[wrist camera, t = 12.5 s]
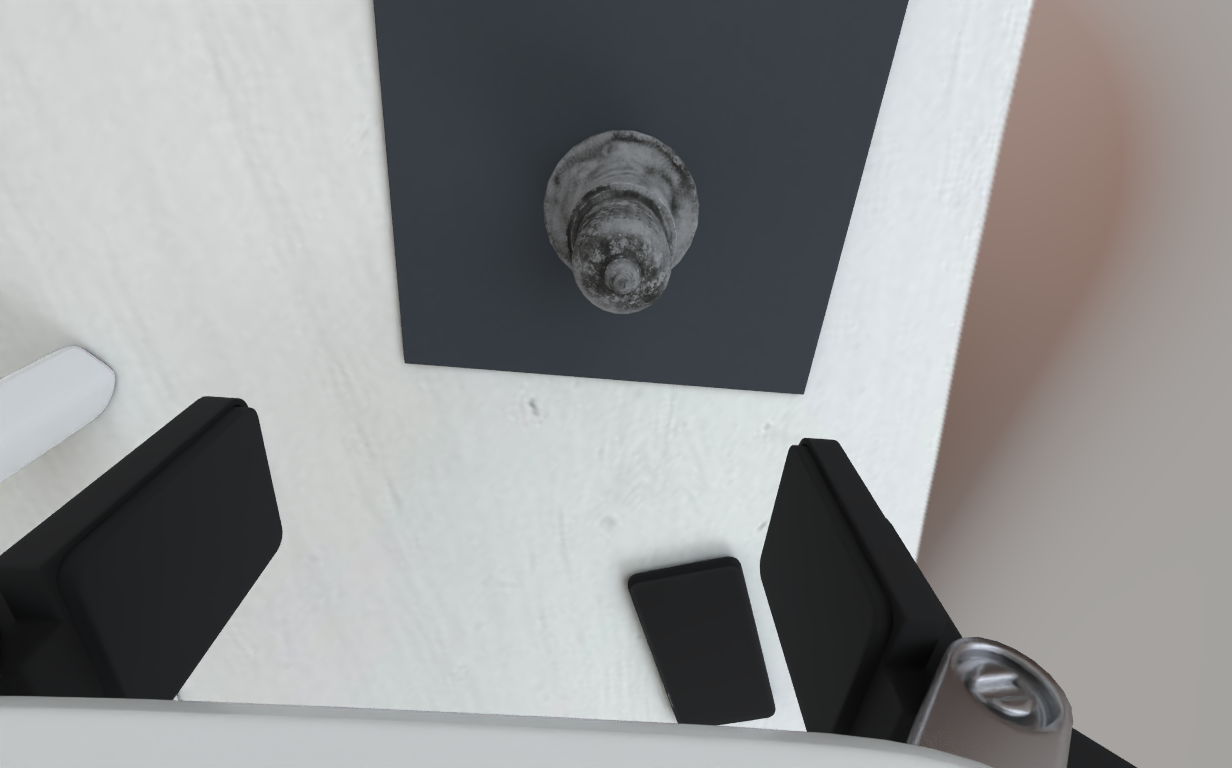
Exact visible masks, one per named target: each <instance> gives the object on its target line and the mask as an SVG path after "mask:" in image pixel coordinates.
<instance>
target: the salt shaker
mask: <svg viewBox="0 0 1232 768" xmlns="http://www.w3.org/2000/svg"><path fill="white" fill-rule="evenodd" d="M698 213H699V202H698V196H697V191H696V185H695V183H694V181H693V179H692V176H691V174H690V172H689V170H688V168H687V166H686V164H685V163H684V162H683V161H682V160H681V159H680V157H679V156H678V155H677V154H676V153H675V152H674V150H673V149H672V148H670V147H668V146H667V145H665V144H664V143H662V142H661V141H659V140H658V139H656V138H655V137H652V136H649V135H646V134H643V133H640V132H636V131H631V130H611V131H607V132H604V133H600V134H596V135H593V136H590V137H589V138H587V139H585V140H584V141H582V142H580V143H579V144H577V145H575V146H574V147H572V148H571V150H570V151H569V152H568V153H567V154H566V155H565V156H564V157H563V158H562V159H561V160H560V161H559V162H558V164H557V166H556V168H555V170H554V172H553V173H552V175H551V177H550V179H549V181H548V185H547V189H546V194H545V198H544V223H545V227H546V230H547V233H548V237H549V240H550V243H551V245H552V246H553V248H554V249H555V251H556V253H557V254H558V256H559V258H560V259H561V260H562V261H563V262H564V263H565V264H566V265H567V266H568V267H569V268H570V269H571V270H572V271H573V274H574V277H575V281H576V283H577V285H578V287H579V288H580V290H581V291H582V293H583V295H584V296H585V297H586V298H587V299H588V300H589V301H590V302H591V303H592V304H594V305H595V306H597V307H599V308H601V309H602V310H605V311H608V312H612V313H615V314H630V313H634V312H639V311H641V310H643V309H645V308H647V307H649V306H651V305H652V304H653V303H654V302H655V301H656V300H657V299H658V298H659V297H660V296H661V294H662V293H663V291H664V290H665V288H666V286H667V284H668V281H669V278H670V275H671V269H672V268H673V267H674V266H675V265H677V264H678V263H679V262H680V260H681V259H682V257H683V256H684V254H685V253H686V251H687V250H688V248H689V247H690V245H691V243H692V240H693V237H694V234H695V231H696V229H697V225H698Z"/></svg>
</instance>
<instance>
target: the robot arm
mask: <svg viewBox="0 0 1232 768" xmlns="http://www.w3.org/2000/svg"><path fill="white" fill-rule="evenodd" d="M281 540H282V525H281V521H280V516H279V511H278V507H277V502H276V497H275V493H274V488H273V484H272V479H271V474H270V470H269V465H268V460H267V456H266V451H265V446H264V442H263V437H262V433H261V428H260V423H259V419H258V415H257V412H256V411H255V410H254V409H253V408H248V405H247V404H246V402H245V401H244V400H242V399H239V398H225V397H210V396H205V397H202V398H200V399H198V400H197V401H195V402H194V403H193V404H192V405H190V406H189V407H188V408H187V409H185V410H184V411H183V412H182V413H180V414H179V415H178V416H176V417H175V418H174V419H173V420H171V421H170V422H169V423H168V424H166V425H165V426H164V427H163V428H161V429H160V430H159V431H157V432H156V433H155V434H154V435H152V436H151V437H150V438H149V439H147V440H146V441H145V442H144V443H142V444H141V445H140V446H138V447H137V448H136V449H135V450H133V451H132V452H131V453H130V454H128V455H127V456H126V457H124V458H123V459H122V460H121V461H119V462H118V463H117V464H116V465H114V466H113V467H112V468H111V469H109V470H108V471H107V472H105V473H104V474H103V475H102V476H100V477H99V478H98V479H97V480H95V481H94V482H93V483H92V484H90V485H89V486H88V487H86V488H85V489H84V490H83V491H81V492H80V493H79V494H78V495H76V496H75V497H74V498H73V499H71V500H70V501H69V502H67V503H66V504H65V505H64V506H62V507H61V508H60V509H59V510H57V511H56V512H55V513H54V514H52V515H51V516H50V517H48V518H47V519H46V520H45V521H43V522H42V523H41V524H40V525H38V526H37V527H36V528H35V529H33V530H32V531H31V532H29V533H28V534H27V535H26V536H24V537H23V538H22V539H21V540H19V541H18V542H17V543H16V544H14V545H13V546H12V547H10V548H9V549H8V550H7V551H5V552H4V553H3V554H2V555H0V768H1137V767H1135V766H1133V765H1132V764H1130V763H1129V762H1127V761H1125V760H1124V759H1122V758H1121V757H1119V756H1117V755H1115V754H1114V753H1112V752H1111V751H1109V750H1108V749H1106V748H1104V747H1103V746H1101V745H1099V744H1098V743H1096V742H1094V741H1093V740H1091V739H1090V738H1088V737H1086V736H1085V735H1083V734H1081V733H1080V732H1078V731H1077V730H1075V729H1073V728H1072V725H1073V717H1072V708H1071V705H1070V703H1069V701H1068V699H1067V697H1066V695H1065V693H1064V691H1063V690H1062V689H1061V687H1060V686H1059V685H1058V684H1057V683H1056V681H1055V680H1054V679H1053V678H1052V676H1051V675H1050V674H1049V673H1047V672H1046V671H1045V670H1044V669H1043V668H1042V667H1040V666H1039V665H1038V664H1037V663H1036V662H1035V661H1033V660H1032V659H1030V658H1029V657H1027V656H1025V655H1023V654H1022V653H1021V652H1019V651H1017V650H1015V649H1013V648H1011V647H1009V646H1007V645H1004V644H1002V643H999V642H997V641H993V640H989V639H984V638H980V637H968V638H962V636H961V634H960V633H959V631H958V630H957V628H956V627H955V625H954V623H953V622H952V620H951V619H950V617H949V615H948V614H947V612H946V611H945V609H944V607H943V606H942V604H941V602H940V601H939V599H938V598H937V596H936V595H935V593H934V591H933V590H932V588H931V587H930V585H929V583H928V582H927V580H926V579H925V577H924V576H923V574H922V572H921V571H920V569H919V567H918V566H917V564H916V562H915V561H914V559H913V558H912V556H911V555H910V553H909V551H908V550H907V548H906V547H905V545H904V543H903V542H902V540H901V539H900V537H899V535H898V534H897V532H896V531H895V529H894V527H893V526H892V524H891V523H890V522H889V521H888V520H887V518H885V516H884V515H883V513H882V511H881V510H880V508H879V507H878V505H877V503H876V502H875V500H874V499H873V497H872V495H871V494H870V492H869V491H868V489H867V487H866V486H865V484H864V482H863V481H862V479H861V478H860V476H859V474H858V473H857V471H856V470H855V468H854V466H853V465H852V463H851V462H850V460H849V458H848V457H847V455H846V453H845V452H844V450H843V449H842V447H841V445H840V444H839V443H838V442H837V441H836V440H828V439H813V438H804V439H802V440H801V442H800V443H799V445H792V446H791V447H790V449H789V451H788V454H787V458H786V462H785V466H784V470H783V474H782V477H781V481H780V485H779V489H778V493H777V497H776V500H775V504H774V508H773V512H772V516H771V520H770V524H769V527H768V531H767V535H766V539H765V543H764V547H763V551H762V554H761V559H760V575H761V580H762V583H763V586H764V590H765V593H766V596H767V600H768V603H769V606H770V610H771V613H772V616H773V620H774V623H775V627H776V630H777V633H778V637H779V640H780V643H781V647H782V650H783V653H784V657H785V660H786V663H787V667H788V670H789V673H790V677H791V680H792V683H793V687H794V690H795V693H796V697H797V700H798V703H799V707H800V710H801V713H802V717H803V720H804V723H805V727H806V730H807V732H802V731H788V730H774V729H759V728H745V727H730V726H715V725H695V724H676V723H657V722H638V721H619V720H600V719H580V718H561V717H542V716H520V715H499V714H478V713H457V712H436V711H414V710H392V709H370V708H348V707H326V706H301V705H277V704H252V703H228V702H203V701H179V700H178V697H177V693H178V692H179V691H180V689H181V688H182V686H183V685H184V683H185V682H186V681H187V679H188V678H189V676H190V675H191V673H192V672H193V671H194V669H195V668H196V666H197V665H198V663H199V662H200V661H201V659H202V658H203V656H204V655H205V653H206V652H207V650H208V649H209V648H210V646H211V645H212V643H213V642H214V640H215V639H216V638H217V636H218V635H219V633H220V632H221V630H222V629H223V628H224V626H225V625H226V623H227V622H228V620H229V619H230V618H231V616H232V615H233V613H234V612H235V610H236V609H237V608H238V606H239V605H240V603H241V602H242V600H243V599H244V598H245V596H246V595H247V593H248V592H249V590H250V589H251V588H252V586H253V585H254V583H255V582H256V580H257V579H258V578H259V576H260V575H261V573H262V572H263V570H264V569H265V567H266V566H267V565H268V563H269V562H270V560H271V559H272V557H273V556H274V555H275V553H276V552H277V550H278V548H279V546H280V543H281Z"/></svg>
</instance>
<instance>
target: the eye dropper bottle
mask: <svg viewBox="0 0 1232 768" xmlns="http://www.w3.org/2000/svg"><path fill="white" fill-rule="evenodd" d="M114 386H115V375H114V372H113V371H112V370H111V369H110V367H108V366H107V365H106V364H104V363H103V362H102V361H100V360H99V359H97V358H96V357H95V356H93V355H92V354H90V353H89V352H87V351H86V350H84V349H83V348H80V347H78V346H69V347H65V348H62V349H59V350H57V351H55V352H53V353H50V354H48V355H46V356H44V357H43V358H41V359H39V360H37V361H35V362H33V363H31V364H29V365H27V366H25V367H23V368H21V369H19V370H17V371H15V372H13V373H11V374H9V375H7V376H5V377H3V378H1V379H0V483H1V482H2V481H4V480H5V479H7V478H8V477H10V476H11V475H13V474H14V473H16V472H17V471H19V470H20V469H22V468H23V467H25V466H26V465H28V464H29V463H31V462H32V461H34V460H35V459H37V458H38V457H40V456H41V455H43V454H44V453H46V452H47V451H48V450H50V449H51V448H53V447H54V446H56V445H57V444H59V443H60V442H62V441H63V440H65V439H66V438H68V437H69V436H71V435H72V434H74V433H75V432H77V431H78V430H80V429H81V428H83V427H84V426H86V425H87V424H88V423H90V422H91V421H92V420H94V419H95V418H96V417H97V416H99V415H100V414H101V412H102V411H103V410H104V409H105V408H106V406H107V405H108V403H109V401H110V399H111V397H112V394H113V391H114Z"/></svg>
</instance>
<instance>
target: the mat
mask: <svg viewBox="0 0 1232 768" xmlns="http://www.w3.org/2000/svg"><path fill="white" fill-rule="evenodd" d="M373 1H374V12H375V24H376V35H377V47H378V59H379V70H380V82H381V93H382V105H383V117H384V128H385V140H386V151H387V163H388V175H389V186H390V198H391V209H392V221H393V233H394V244H395V256H396V267H397V279H398V291H399V302H400V314H401V325H402V337H403V349H404V360H405V363H410V364H423V365H435V366H448V367H461V368H473V369H486V370H499V371H511V372H524V373H537V374H550V375H562V376H575V377H588V378H600V379H613V380H626V381H638V382H651V383H664V384H676V385H689V386H702V387H715V388H727V389H740V390H753V391H765V392H778V393H791V394H804V391H805V388H806V384H807V380H808V376H809V373H810V369H811V365H812V361H813V358H814V354H815V350H816V346H817V343H818V339H819V335H820V331H821V328H822V324H823V320H824V316H825V312H826V309H827V305H828V301H829V297H830V294H831V290H832V286H833V282H834V279H835V275H836V271H837V267H838V264H839V260H840V256H841V252H842V249H843V245H844V241H845V237H846V234H847V230H848V226H849V222H850V219H851V215H852V211H853V207H854V204H855V200H856V196H857V192H858V189H859V185H860V181H861V177H862V174H863V170H864V166H865V162H866V159H867V155H868V151H869V147H870V144H871V140H872V136H873V132H874V129H875V125H876V121H877V117H878V114H879V110H880V106H881V102H882V99H883V95H884V91H885V87H886V84H887V80H888V76H889V72H890V69H891V65H892V61H893V57H894V54H895V50H896V46H897V42H898V39H899V35H900V31H901V27H902V24H903V20H904V16H905V12H906V8H907V5H908V1H909V0H373ZM611 130H631V131H636V132H640V133H643V134H646V135H649V136H652V137H655V138H656V139H658V140H659V141H661V142H662V143H664V144H665V145H667V146H668V147H670V148H672V149H673V150H674V152H675V153H676V154H677V155H678V156H679V157H680V159H681V160H682V161H683V162H684V163H685V164H686V166H687V168H688V170H689V172H690V174H691V176H692V179H693V181H694V183H695V185H696V191H697V196H698V202H699V213H698V225H697V229H696V231H695V234H694V237H693V240H692V243H691V245H690V247H689V248H688V250H687V251H686V253H685V254H684V256H683V257H682V259H681V260H680V262H679V263H678V264H677V265H675V266H674V267H673V268H672V269H671V275H670V278H669V281H668V284H667V286H666V288H665V290H664V291H663V293H662V294H661V296H660V297H659V298H658V299H657V300H656V301H655V302H654V303H653V304H652V305H651V306H649V307H647V308H645V309H643V310H641V311H639V312H634V313H630V314H615V313H612V312H608V311H605V310H602V309H601V308H599V307H597V306H595V305H594V304H592V303H591V302H590V301H589V300H588V299H587V298H586V297H585V296H584V295H583V293H582V291H581V290H580V288H579V287H578V285H577V283H576V281H575V277H574V274H573V271H572V270H571V269H570V268H569V267H568V266H567V265H566V264H565V263H564V262H563V261H562V260H561V259H560V258H559V256H558V254H557V253H556V251H555V249H554V248H553V246H552V245H551V243H550V240H549V237H548V233H547V230H546V227H545V223H544V198H545V194H546V189H547V185H548V181H549V179H550V177H551V175H552V173H553V172H554V170H555V168H556V166H557V164H558V162H559V161H560V160H561V159H562V158H563V157H564V156H565V155H566V154H567V153H568V152H569V151H570V150H571V148H572V147H574V146H575V145H577V144H579V143H580V142H582V141H584V140H585V139H587V138H589V137H590V136H593V135H596V134H600V133H604V132H607V131H611Z"/></svg>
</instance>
